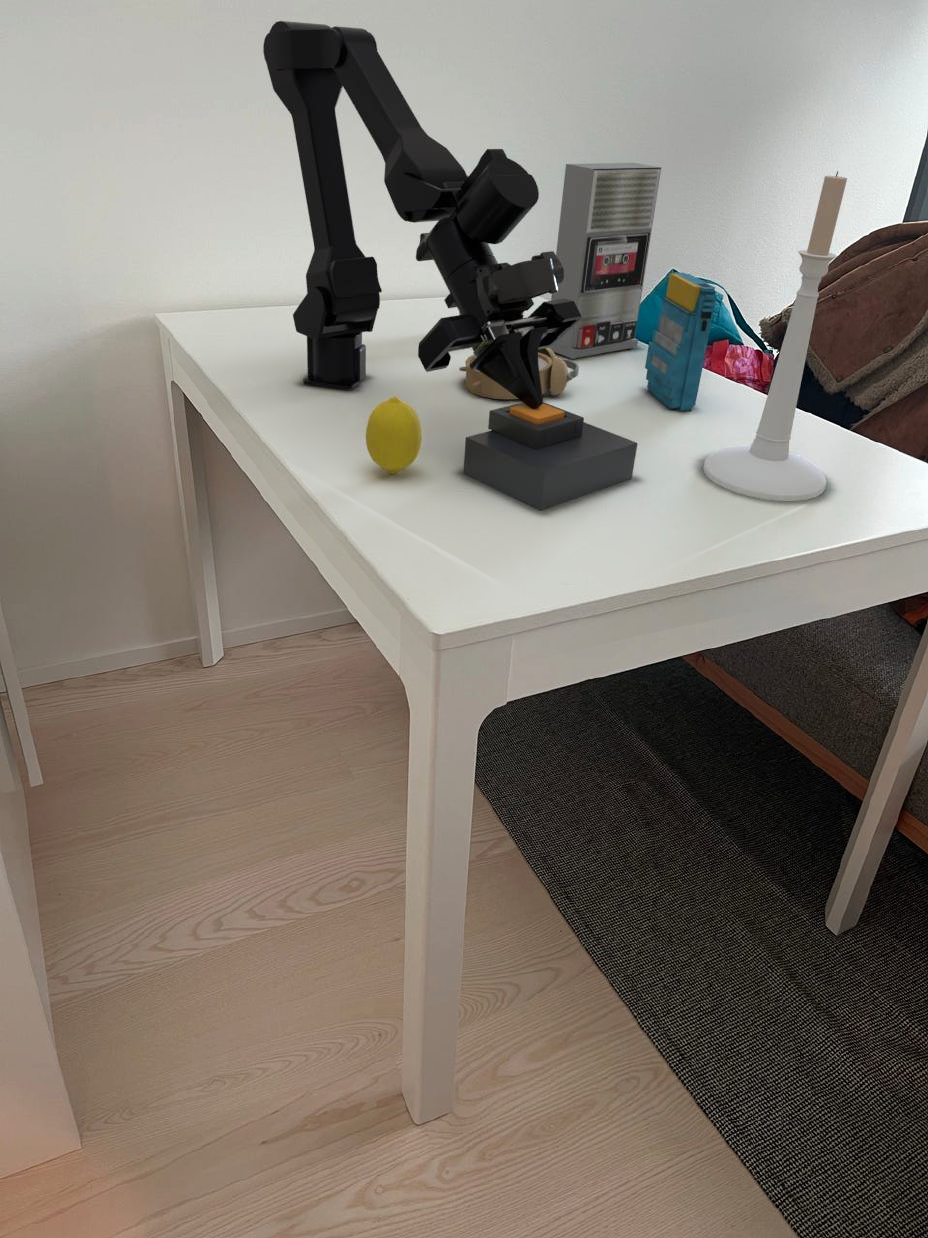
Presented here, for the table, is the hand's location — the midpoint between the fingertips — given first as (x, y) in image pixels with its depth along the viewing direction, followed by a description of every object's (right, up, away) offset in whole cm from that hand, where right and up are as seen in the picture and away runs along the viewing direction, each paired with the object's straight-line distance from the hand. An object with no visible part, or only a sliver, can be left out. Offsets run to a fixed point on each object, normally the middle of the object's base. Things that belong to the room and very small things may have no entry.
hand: (537, 406), depth 96 cm
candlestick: (+25, -6, +6) cm, 26 cm away
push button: (+1, -7, +2) cm, 7 cm away
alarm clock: (0, +8, +27) cm, 29 cm away
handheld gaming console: (+19, +7, +27) cm, 34 cm away
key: (0, -2, +1) cm, 3 cm away
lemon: (-15, -7, 0) cm, 16 cm away
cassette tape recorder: (+12, +19, +46) cm, 51 cm away
